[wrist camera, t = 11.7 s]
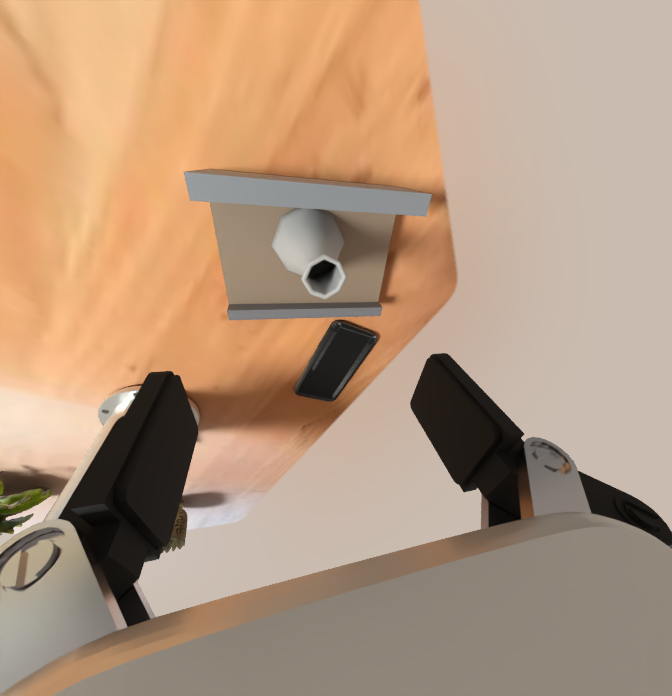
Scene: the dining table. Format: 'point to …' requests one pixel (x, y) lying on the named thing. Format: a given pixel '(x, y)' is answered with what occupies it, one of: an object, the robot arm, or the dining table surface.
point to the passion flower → (19, 506)
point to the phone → (335, 361)
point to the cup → (178, 530)
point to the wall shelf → (260, 226)
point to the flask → (311, 249)
